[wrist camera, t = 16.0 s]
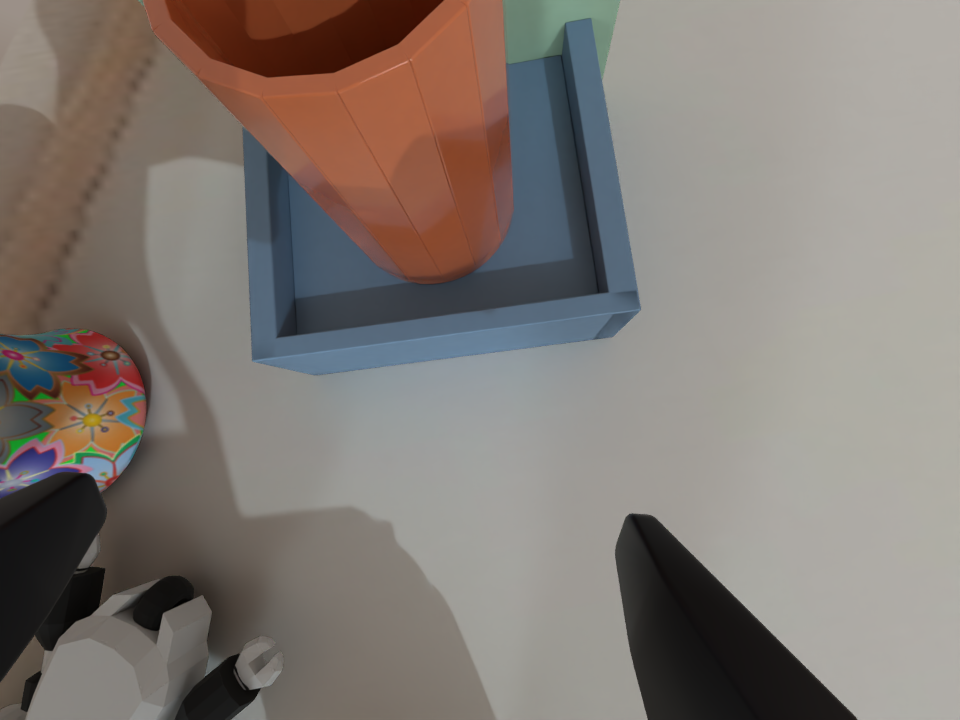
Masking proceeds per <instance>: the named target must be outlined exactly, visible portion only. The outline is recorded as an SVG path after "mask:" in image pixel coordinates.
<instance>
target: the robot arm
mask: <svg viewBox="0 0 960 720" xmlns="http://www.w3.org/2000/svg"><path fill="white" fill-rule="evenodd" d="M106 515H107V508H106V505H105V503H104V500H103V498H102V495H101V493H100V490H99V488H98V486H97V483H96V481H95V479H94V477H93V476H91V475H90V474H88V473H79V472H60V473H56V474H54V475H52V476H49V477H47V478H45V479H43V480H40V481H38V482H36V483H34V484H31V485H29V486H27V487H25V488H22V489H20V490H18V491H16V492H13V493H11V494H9V495H7V496H5V497H2V498H0V682H1V681H2V680H3V678H4V677H5V675H6V674H7V673H8V671H9V670H10V668H11V667H12V666H13V664H14V663H15V662H16V660H17V659H18V657H19V656H20V655H21V653H22V652H23V650H24V649H25V648H26V646H27V645H28V644H29V642H30V641H31V639H32V638H33V637H34V635H35V634H36V632H37V631H38V630H39V628H40V627H41V625H42V624H43V622H44V621H45V619H46V618H47V617H48V615H49V614H50V612H51V610H52V609H53V607H54V606H55V604H56V602H57V601H58V599H59V598H60V596H61V594H62V593H63V591H64V589H65V588H66V586H67V584H68V583H69V581H70V579H71V578H72V576H73V574H74V573H75V571H76V569H77V568H78V566H79V564H80V563H81V561H82V559H83V558H84V556H85V554H86V552H87V551H88V549H89V547H90V546H91V544H92V542H93V541H94V539H95V537H96V536H97V534H98V532H99V531H100V529H101V527H102V526H103V524H104V522H105V519H106ZM615 558H616V565H617V572H618V578H619V584H620V591H621V597H622V603H623V610H624V616H625V623H626V629H627V635H628V641H629V647H630V652H631V656H632V660H633V664H634V669H635V672H636V676H637V680H638V684H639V688H640V691H641V695H642V699H643V703H644V707H645V711H646V714H647V718H648V720H857V718H856V717H855V716H854V715H853V714H852V713H851V712H850V711H849V710H848V709H847V708H846V707H845V706H844V705H843V704H842V703H841V702H840V701H839V700H838V699H837V698H836V697H835V696H834V695H833V694H832V693H831V692H830V691H829V690H828V689H827V688H826V687H825V686H824V685H823V684H822V683H821V682H820V681H819V680H818V679H817V678H816V677H815V676H814V675H813V674H812V673H811V672H810V671H809V670H808V669H807V668H806V667H805V666H804V665H803V664H802V663H801V662H800V661H799V660H798V659H797V658H796V657H795V656H794V655H793V654H792V653H791V652H790V651H789V650H788V649H787V648H786V647H785V646H784V645H783V644H782V643H781V642H780V641H779V640H778V639H777V638H776V637H775V636H774V635H773V634H772V633H771V632H770V631H769V630H768V629H767V628H766V627H765V626H764V625H763V624H762V623H761V622H760V621H759V620H758V619H757V618H756V617H755V616H754V615H753V614H752V613H751V612H750V611H749V610H748V609H747V608H746V607H745V606H744V605H743V604H742V603H741V602H740V601H739V600H738V599H737V598H736V597H735V596H734V595H733V594H732V593H731V592H730V591H729V590H727V589H726V588H725V587H724V586H723V585H722V584H721V583H720V582H719V581H718V580H717V579H716V578H715V577H714V576H713V575H712V574H711V573H710V572H709V571H708V570H707V569H706V568H705V567H704V566H703V565H702V564H701V563H700V562H699V561H698V560H697V559H696V558H695V557H694V556H693V555H692V554H691V553H690V552H689V551H688V550H687V549H686V548H685V547H684V546H683V545H682V544H681V543H680V542H679V541H678V540H677V539H676V538H675V537H674V536H673V535H672V534H671V533H670V532H669V531H668V530H667V529H666V528H665V527H664V526H663V525H662V524H661V523H660V522H659V521H658V520H657V519H656V518H655V517H653V516H651V515H646V514H633V513H632V514H629V515H628V516H627V517H626V518H625V521H624V524H623V527H622V529H621V532H620V535H619V538H618V541H617V544H616V549H615Z"/></svg>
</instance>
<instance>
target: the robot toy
mask: <svg viewBox="0 0 960 720" xmlns="http://www.w3.org/2000/svg"><path fill="white" fill-rule="evenodd" d="M100 551H101V548H100V535H99V534H97V536H96V537H95V539H94V541H93V542H92V544H91V546H90V547H89V549H88V551H87V552H86V554H85V556H84V558H83V559H82V561H81V563H80V564H79V566H78V568H77V569H76V571H75V573H74V574H73V576H72V578H71V579H70V581H69V583H68V584H67V586H66V588H65V589H64V591H63V593H62V594H61V596H60V598H59V599H58V601H57V602H56V604H55V606H54V607H53V609H52V610H51V612H50V614H49V615H48V617H47V618H46V619H45V621H44V622H43V624H42V625H41V627H40V628H39V630H38V631H37V632H36V634H35V636H36V638H37V639H38V641H39V642H40V644H41V645H42V647H43V648H44V650H45V652H44V658H43V663H42V668H41V671H39V672H38V673H36V674H34V675H33V676H32V677H30V678H29V679H27V680H26V682H25V688H24V693H23V698H22V703H20V704H14V705H8V706H6V707H4V708H2V709H0V720H231V719H232V718H233V717H235V716H236V715H237V714H238V713H239V712H241V711H242V710H243V709H244V708H245V707H246V706H248V705H249V704H250V703H251V702H252V701H253V700H254V699H255V698H256V696H257V694H258V692H259V691H260V689H261V688H262V687H266V686H270V685H272V683H273V682H274V681H275V679H276V678H277V677H278V675H279V674H280V673H281V672H282V669H283V665H284V656H283V655H282V653H281V651H279V652H278V653H277V654H275V655H274V656H273V658H272V659H271V661H270V662H269V663H268V664H267V663H266V661H265V659H264V658H263V656H262V653H263V652H265V651H267V650H269V649H271V648H272V647H273V646H274V645H276V643H275V642H274V640H273V638H270V637H268V636H259V637H257V638H255V639H253V640H251V641H249V642H247V643H245V645H244V647H243V649H242V651H241V653H240V654H237V655H234V656H231V657H228V658H227V659H226V660H225V661H224V662H222V663H221V664H220V665H219V666H218V667H216V668H215V669H214V670H213V671H212V672H210V673H209V674H208V675H207V676H206V677H204V676H205V671H206V667H207V662H208V658H209V652H208V646H207V636H208V631H209V626H210V620H211V615H212V611H211V610H210V608H209V606H208V604H207V602H206V600H205V599H204V597H203V595H202V596H199V597H197V598H195V599H193V596H194V588H193V586H192V584H191V583H190V582H189V581H188V580H186V579H185V578H183V577H181V576H168V577H165V578H163V579H156V580H153V581H151V582H148V583H145V584H142V585H139V586H137V587H134V588H131V589H128V590H125V591H123V592H120V593H117V594H114V595H112V596H111V597H110V598H109V599H108V600H107V601H106V602H105V603H104V604H103V605H101V606H100V607H99V604H100V598H101V592H102V586H103V579H104V573H105V568H100V567H90V566H91V564H92V563H93V561H94V560H95V558H96V557H97V555H98V554H99V552H100Z"/></svg>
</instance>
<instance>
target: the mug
mask: <svg viewBox="0 0 960 720" xmlns="http://www.w3.org/2000/svg"><path fill="white" fill-rule="evenodd" d="M145 420H146V395H145V389H144V385H143V382H142V379H141V376H140V374H139V371H138V369H137V367H136V366H135V364H134V362H133V361H132V359H131V358H130V356H129V355H128V354H127V353H126V352H125V351H124V349H122V348H121V347H120V346H119V345H118V344H117V343H115V342H114V341H112V340H111V339H109V338H107V337H105V336H103V335H101V334H98V333H96V332H93V331H89V330H84V329H73V328H72V329H58V330H53V331H49V332H45V333H41V334H34V335H7V334H0V498H2V497H5V496H7V495H9V494H11V493H13V492H16V491H18V490H20V489H22V488H25V487H27V486H29V485H31V484H34V483H36V482H38V481H40V480H43V479H45V478H47V477H49V476H52V475H54V474H56V473H60V472H79V473H88V474H90V475H91V476H93V477H94V479H95V481H96V483H97V486H98V488H99V490H100V493H101V492H103V491H104V490H105V489H107V488H108V487H109V486H110V485H111V484H112V483H113V482H114V481H115V480H116V479H117V478H118V477H119V476H120V475H121V474H122V472H123V471H124V470H125V469H126V467H127V466H128V464H129V463H130V461H131V460H132V458H133V456H134V454H135V452H136V450H137V448H138V446H139V443H140V441H141V438H142V434H143V430H144V426H145Z"/></svg>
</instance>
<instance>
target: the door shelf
mask: <svg viewBox="0 0 960 720" xmlns="http://www.w3.org/2000/svg"><path fill="white" fill-rule="evenodd" d="M138 1H139V2H140V3H141V4H142V5H143V6H144V4H143V0H138ZM505 4H506V25H507V46H508V67H509V89H510V110H511V131H512V152H513V173H514V211H513V217H512V221H511V225H510V227H509V230H508V233H507V235H506V237H505V239H504V241H503V242H502V244H501V245H500V247H499V248H498V250H497V251H496V252H495V253H494V254H493V256H492V257H491V258H490V259H489V260H488V261H487V262H485V263H484V264H483V265H482V266H481V267H479V268H478V269H476V270H475V271H473V272H472V273H470V274H468V275H466V276H464V277H462V278H459V279H456V280H453V281H450V282H445V283H440V284H417V283H411V282H407V281H404V280H400V279H398V278H396V277H394V276H391V275H389V274H388V273H386V272H385V271H383V270H382V269H380V268H379V267H377V266H376V265H375V264H374V263H373V262H372V261H371V260H370V259H369V257H368V256H367V255H366V254H365V253H364V252H363V251H362V250H361V249H360V248H359V247H358V246H357V245H356V244H355V243H354V242H353V241H352V240H351V239H350V238H349V237H348V236H347V235H346V234H345V233H344V232H343V231H342V230H341V229H340V228H339V227H338V226H337V224H336V223H335V222H334V221H333V220H332V219H331V218H330V217H329V216H328V215H327V214H326V213H325V212H324V211H323V210H322V209H321V208H320V207H319V206H318V205H317V204H316V203H315V202H314V200H313V199H312V198H311V197H310V196H309V195H308V194H307V193H306V192H305V191H304V190H303V189H302V188H301V187H300V186H299V185H298V184H297V183H296V182H295V181H294V180H293V179H292V177H291V176H290V175H289V174H288V173H287V172H286V171H285V170H284V169H283V168H282V167H281V166H280V165H279V164H278V163H277V162H276V161H275V160H274V159H273V158H272V157H271V156H270V155H269V153H268V152H267V151H266V150H265V149H264V148H263V147H262V146H261V145H260V144H259V143H258V142H257V141H256V140H255V139H254V138H253V137H252V136H251V135H250V134H249V133H248V132H247V131H246V129H245V128H244V127H243V149H244V173H245V197H246V221H247V245H248V269H249V293H250V317H251V341H252V343H251V344H252V361H253V362H257V363H261V364H266V365H270V366H275V367H279V368H284V369H289V370H293V371H298V372H302V373H307V374H311V375H321V374H329V373H337V372H345V371H352V370H360V369H368V368H376V367H383V366H391V365H399V364H407V363H414V362H422V361H430V360H438V359H445V358H453V357H461V356H469V355H476V354H484V353H492V352H500V351H507V350H515V349H523V348H531V347H539V346H546V345H554V344H562V343H570V342H577V341H585V340H593V339H601V338H609V337H613V336H614V335H615V334H616V333H617V332H618V331H619V330H621V329H622V328H623V327H624V326H625V325H626V324H627V323H628V322H629V321H630V320H631V319H632V318H633V317H634V316H635V315H636V314H637V313H638V312H639V311H640V310H641V306H640V300H639V294H638V289H637V283H636V277H635V271H634V265H633V259H632V253H631V248H630V242H629V236H628V230H627V224H626V218H625V212H624V207H623V201H622V195H621V189H620V183H619V177H618V171H617V166H616V160H615V154H614V148H613V142H612V136H611V131H610V125H609V119H608V113H607V107H606V101H605V95H604V90H603V84H602V79H603V74H604V70H605V66H606V61H607V57H608V52H609V48H610V43H611V39H612V35H613V30H614V26H615V21H616V17H617V12H618V8H619V4H620V0H505ZM144 8H145V7H144Z"/></svg>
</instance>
